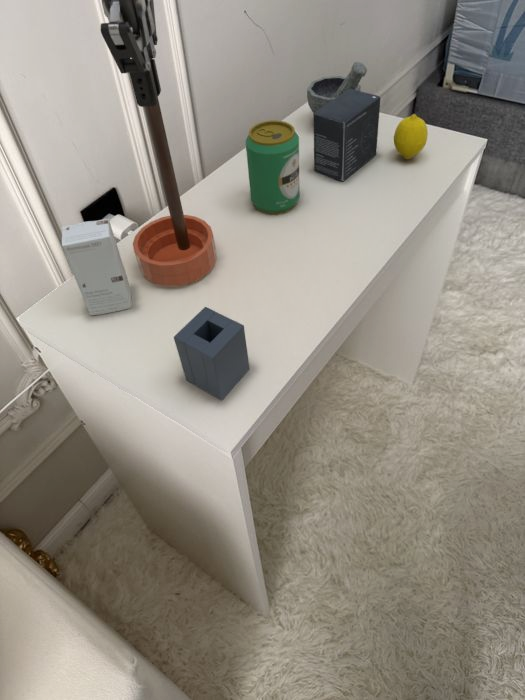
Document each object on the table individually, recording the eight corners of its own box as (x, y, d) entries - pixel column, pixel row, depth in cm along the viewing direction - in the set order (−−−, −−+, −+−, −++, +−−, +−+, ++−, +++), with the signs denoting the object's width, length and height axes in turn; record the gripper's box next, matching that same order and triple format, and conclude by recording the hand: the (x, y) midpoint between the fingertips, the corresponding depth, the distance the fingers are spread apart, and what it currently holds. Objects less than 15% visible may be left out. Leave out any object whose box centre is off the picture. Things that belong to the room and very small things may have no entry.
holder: (185, 380, 64) (173, 336, 58) (214, 350, 66) (205, 306, 60) (221, 401, 61) (212, 358, 55) (249, 369, 64) (244, 325, 58)
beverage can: (280, 221, 83) (277, 150, 74) (241, 205, 86) (233, 136, 77) (309, 196, 87) (309, 126, 78) (270, 182, 90) (266, 113, 81)
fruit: (424, 151, 94) (432, 106, 87) (421, 167, 90) (430, 122, 84) (393, 148, 95) (399, 104, 89) (389, 164, 91) (395, 120, 85)
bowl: (133, 289, 75) (125, 265, 71) (148, 239, 82) (141, 215, 79) (212, 288, 74) (207, 264, 70) (220, 237, 81) (216, 213, 78)
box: (346, 144, 97) (350, 86, 89) (377, 155, 94) (383, 96, 86) (311, 170, 92) (312, 111, 84) (342, 182, 89) (346, 123, 81)
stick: (177, 250, 75) (129, 56, 55) (179, 242, 76) (132, 49, 56) (189, 250, 74) (146, 55, 55) (191, 242, 76) (149, 48, 56)
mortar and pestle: (297, 127, 102) (297, 62, 93) (323, 108, 106) (325, 43, 97) (348, 142, 97) (352, 75, 88) (373, 121, 102) (379, 55, 92)
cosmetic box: (90, 317, 72) (58, 247, 62) (89, 295, 75) (59, 225, 65) (135, 308, 72) (109, 237, 63) (132, 286, 75) (108, 216, 66)
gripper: (82, -112, 50) (129, 75, 64) (37, -76, 42) (103, 132, 55) (159, -119, 50) (190, 72, 63) (129, -84, 41) (173, 129, 54)
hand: (149, 99), depth 59 cm, fingers closed on stick, 2 cm apart
